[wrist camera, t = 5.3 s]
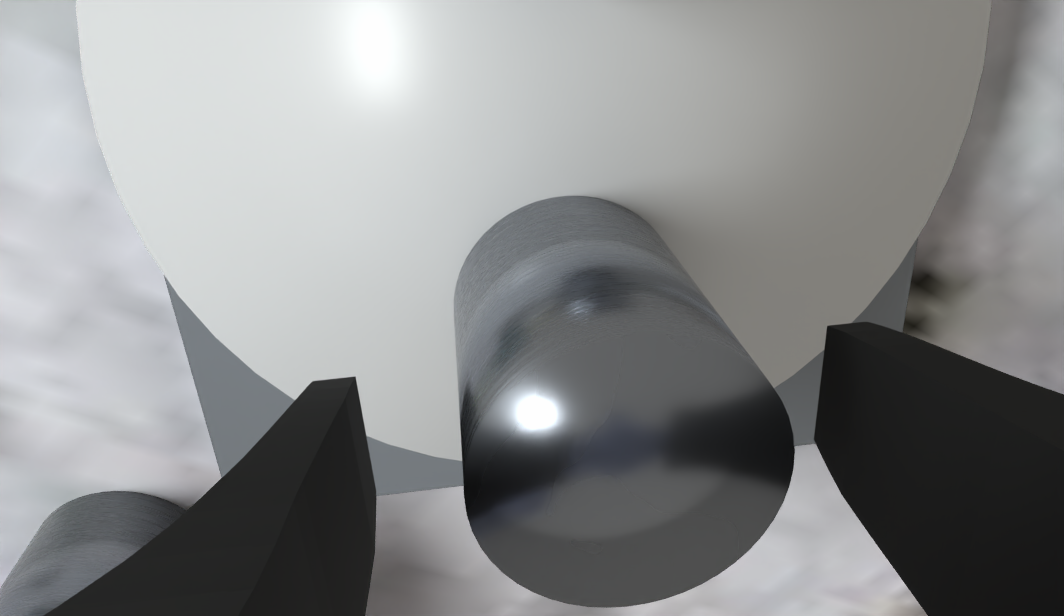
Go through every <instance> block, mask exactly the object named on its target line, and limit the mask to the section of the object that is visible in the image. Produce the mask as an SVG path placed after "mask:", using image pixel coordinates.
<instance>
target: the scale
mask: <svg viewBox="0 0 1064 616" xmlns="http://www.w3.org/2000/svg"><path fill="white" fill-rule="evenodd" d="M991 6H992V0H76V15H77V25H78V36H79V46H80V57H81V67H82V76H83V80H84V84H85V89H86V93H87V97H88V102H89V106H90V110H91V115H92V119H93V123H94V128H95V132H96V136H97V139H98V142H99V145H100V148H101V150H102V153H103V156H104V158H105V161H106V164H107V166H108V169H109V172H110V174H111V177H112V180H113V183H114V185H115V188H116V191H117V193H118V196H119V198H120V200H121V202H122V204H123V206H124V207H125V209H126V211H127V213H128V215H129V217H130V219H131V221H132V223H133V225H134V227H135V229H136V230H137V232H138V234H139V236H140V238H141V240H142V242H143V244H144V246H145V248H146V249H147V251H148V252H149V254H150V255H151V257H152V258H153V260H154V261H155V262H156V264H157V265H158V267H159V268H160V270H161V271H162V273H163V274H164V277H165V281H166V284H167V288H168V291H169V295H170V298H171V302H172V305H173V309H174V312H175V316H176V319H177V323H178V326H179V330H180V333H181V337H182V340H183V344H184V347H185V351H186V354H187V358H188V361H189V365H190V368H191V372H192V375H193V379H194V382H195V386H196V389H197V393H198V396H199V400H200V403H201V407H202V410H203V414H204V417H205V421H206V424H207V428H208V431H209V435H210V438H211V442H212V445H213V449H214V452H215V456H216V459H217V463H218V466H219V470H220V473H221V477H223V476H224V475H225V474H227V473H228V472H229V471H230V470H231V469H232V468H233V467H234V466H235V465H236V464H237V463H238V462H239V461H240V460H241V459H242V458H243V457H244V456H245V455H246V454H247V453H248V452H249V451H250V450H251V448H252V447H253V446H254V445H255V444H256V443H257V442H258V441H259V440H260V439H261V438H262V437H263V436H264V434H265V433H266V432H267V431H268V430H269V429H270V428H271V427H272V426H273V424H274V423H275V422H276V421H277V420H278V419H279V418H280V417H281V415H282V414H283V413H284V412H285V411H286V410H287V409H288V408H289V406H290V405H291V404H292V403H293V402H294V401H295V400H296V399H297V398H298V396H299V395H300V394H301V393H302V392H303V391H304V390H305V389H306V387H307V386H308V385H309V384H310V383H311V382H312V381H318V380H327V379H337V378H346V377H355V376H356V382H357V387H358V393H359V398H360V404H361V409H362V415H363V420H364V426H365V431H366V437H367V442H368V448H369V453H370V459H371V464H372V470H373V476H374V481H375V487H376V496H380V495H389V494H397V493H405V492H414V491H422V490H431V489H439V488H447V487H456V486H464V483H463V466H462V448H461V431H460V414H459V396H458V379H457V362H456V345H455V327H454V294H455V287H456V283H457V279H458V276H459V273H460V270H461V268H462V266H463V264H464V261H465V259H466V257H467V256H468V254H469V253H470V251H471V249H472V248H473V246H474V245H475V244H476V243H477V241H478V240H479V239H480V238H481V237H482V235H483V234H484V233H485V232H486V231H488V230H489V229H490V228H491V227H492V226H493V225H494V224H495V223H497V222H498V221H499V220H501V219H502V218H504V217H505V216H506V215H508V214H510V213H512V212H513V211H515V210H517V209H519V208H521V207H523V206H526V205H528V204H531V203H534V202H536V201H540V200H544V199H548V198H552V197H561V196H588V197H595V198H600V199H604V200H607V201H611V202H614V203H616V204H619V205H621V206H623V207H625V208H627V209H629V210H631V211H632V212H634V213H636V214H637V215H639V216H640V217H641V218H643V219H644V220H645V221H646V222H647V223H649V224H650V225H651V226H652V227H653V229H654V230H655V231H656V232H657V233H658V234H659V235H660V237H661V238H662V239H663V241H664V242H665V243H666V245H667V246H668V247H669V249H670V250H671V251H672V253H673V254H674V255H675V257H676V258H677V259H678V261H679V262H680V263H681V265H682V266H683V267H684V269H685V270H686V271H687V273H688V274H689V275H690V277H691V278H692V279H693V281H694V282H695V283H696V285H697V286H698V287H699V289H700V290H701V291H702V293H703V294H704V295H705V297H706V298H707V299H708V301H709V302H710V303H711V305H712V306H713V307H714V309H715V310H716V311H717V313H718V314H719V315H720V317H721V318H722V319H723V321H724V322H725V323H726V325H727V326H728V327H729V329H730V330H731V331H732V333H733V334H734V335H735V337H736V338H737V339H738V341H739V342H740V343H741V345H742V346H743V347H744V349H745V350H746V351H747V353H748V354H749V355H750V357H751V358H752V359H753V361H754V362H755V363H756V365H757V366H758V367H759V369H760V370H761V371H762V373H763V374H764V375H765V377H766V378H767V379H768V381H769V382H770V383H771V385H772V386H773V388H774V389H775V391H776V392H777V394H778V395H779V397H780V398H781V400H782V402H783V404H784V406H785V409H786V411H787V413H788V416H789V419H790V423H791V427H792V431H793V437H794V446H799V445H807V444H816V443H815V441H814V433H815V424H816V416H817V407H818V399H819V391H820V382H821V374H822V365H823V357H824V348H825V340H826V331H827V326H829V325H838V324H848V323H857V322H870V323H874V324H878V325H881V326H884V327H888V328H891V329H893V330H896V331H899V332H903V326H904V320H905V314H906V308H907V302H908V295H909V289H910V283H911V277H912V271H913V265H914V259H915V253H916V247H917V241H918V236H919V234H920V233H921V231H922V229H923V228H924V226H925V225H926V223H927V221H928V219H929V217H930V215H931V213H932V211H933V209H934V207H935V205H936V203H937V201H938V199H939V197H940V195H941V193H942V191H943V189H944V187H945V185H946V183H947V181H948V179H949V177H950V175H951V172H952V170H953V167H954V164H955V161H956V159H957V156H958V153H959V150H960V148H961V145H962V142H963V140H964V137H965V134H966V131H967V129H968V126H969V123H970V120H971V116H972V112H973V108H974V104H975V100H976V96H977V92H978V87H979V83H980V79H981V75H982V71H983V67H984V61H985V53H986V45H987V37H988V30H989V22H990V14H991Z"/></svg>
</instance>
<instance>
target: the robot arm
mask: <svg viewBox="0 0 1064 616" xmlns="http://www.w3.org/2000/svg"><path fill="white" fill-rule="evenodd" d="M814 441H815V443H816V445H817V447H818V449H819V451H820V453H821V455H822V457H823V459H824V461H825V463H826V466H827V468H828V470H829V472H830V473H831V475H832V477H833V479H834V481H835V483H836V485H837V486H838V488H839V490H840V492H841V494H842V495H843V497H844V498H845V500H846V501H847V503H848V504H849V506H850V507H851V509H852V510H853V511H854V513H855V514H856V516H857V517H858V519H859V520H860V521H861V523H862V524H863V526H864V527H865V529H866V530H867V531H868V533H869V534H870V536H871V537H872V538H873V540H874V541H875V543H876V544H877V545H878V547H879V548H880V550H881V551H882V552H883V554H884V555H885V557H886V558H887V559H888V561H889V562H890V564H891V565H892V566H893V568H894V569H895V570H896V572H897V573H898V575H899V576H900V577H901V579H902V580H903V582H904V583H905V584H906V586H907V587H908V589H909V590H910V591H911V593H912V594H913V596H914V597H915V598H916V600H917V601H918V602H919V604H920V605H921V607H922V608H923V609H924V611H925V612H926V614H927V615H928V616H1064V395H1063V394H1060V393H1058V392H1055V391H1052V390H1049V389H1046V388H1043V387H1040V386H1038V385H1035V384H1032V383H1030V382H1027V381H1024V380H1022V379H1019V378H1016V377H1014V376H1011V375H1008V374H1006V373H1003V372H1001V371H998V370H995V369H993V368H990V367H988V366H985V365H983V364H980V363H978V362H975V361H973V360H970V359H968V358H965V357H963V356H960V355H958V354H955V353H953V352H950V351H948V350H945V349H943V348H940V347H938V346H935V345H933V344H930V343H928V342H925V341H923V340H920V339H918V338H915V337H912V336H910V335H907V334H904V333H902V332H899V331H896V330H893V329H891V328H888V327H884V326H881V325H878V324H874V323H870V322H857V323H848V324H838V325H829V326H827V331H826V340H825V348H824V357H823V365H822V374H821V382H820V391H819V399H818V407H817V416H816V424H815V433H814ZM375 530H376V487H375V481H374V476H373V470H372V464H371V459H370V453H369V448H368V442H367V437H366V431H365V426H364V420H363V415H362V409H361V404H360V398H359V393H358V387H357V382H356V376H355V377H346V378H337V379H327V380H318V381H312V382H311V383H310V384H309V385H308V386H307V387H306V389H305V390H304V391H303V392H302V393H301V394H300V395H299V396H298V398H297V399H296V400H295V401H294V402H293V403H292V404H291V405H290V406H289V408H288V409H287V410H286V411H285V412H284V413H283V414H282V415H281V417H280V418H279V419H278V420H277V421H276V422H275V423H274V424H273V426H272V427H271V428H270V429H269V430H268V431H267V432H266V433H265V434H264V436H263V437H262V438H261V439H260V440H259V441H258V442H257V443H256V444H255V445H254V446H253V447H252V448H251V450H250V451H249V452H248V453H247V454H246V455H245V456H244V457H243V458H242V459H241V460H240V461H239V462H238V463H237V464H236V465H235V466H234V467H233V468H232V469H231V470H230V471H229V472H228V473H227V474H225V475H224V476H223V477H222V478H221V479H220V480H219V481H218V482H217V483H216V484H215V485H214V486H213V487H212V488H211V489H210V490H209V491H208V492H207V493H206V494H205V495H204V496H203V497H202V498H201V499H200V500H199V501H197V502H196V503H195V504H194V505H193V506H192V507H191V508H190V509H188V510H187V511H186V512H185V513H184V514H183V515H182V516H180V517H179V518H178V519H177V520H176V521H174V522H173V523H172V524H171V525H170V526H169V527H167V528H166V529H165V530H163V531H162V532H161V533H160V534H158V535H157V536H156V537H155V538H153V539H152V540H151V541H150V542H148V543H147V544H146V545H144V546H143V547H142V548H141V549H139V550H138V551H137V552H136V553H134V554H133V555H132V556H130V557H129V558H127V559H126V560H125V561H123V562H122V563H121V564H119V565H118V566H116V567H115V568H113V569H112V570H110V571H109V572H107V573H106V574H104V575H103V576H102V577H100V578H99V579H97V580H96V581H94V582H93V583H91V584H90V585H88V586H87V587H85V588H84V589H83V590H81V591H80V592H78V593H77V594H75V595H74V596H72V597H71V598H69V599H68V600H66V601H65V602H64V603H62V604H61V605H59V606H58V607H56V608H54V609H53V610H51V611H50V612H48V613H47V614H45V615H43V616H365V612H366V606H367V599H368V593H369V587H370V580H371V574H372V567H373V560H374V554H375Z"/></svg>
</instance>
